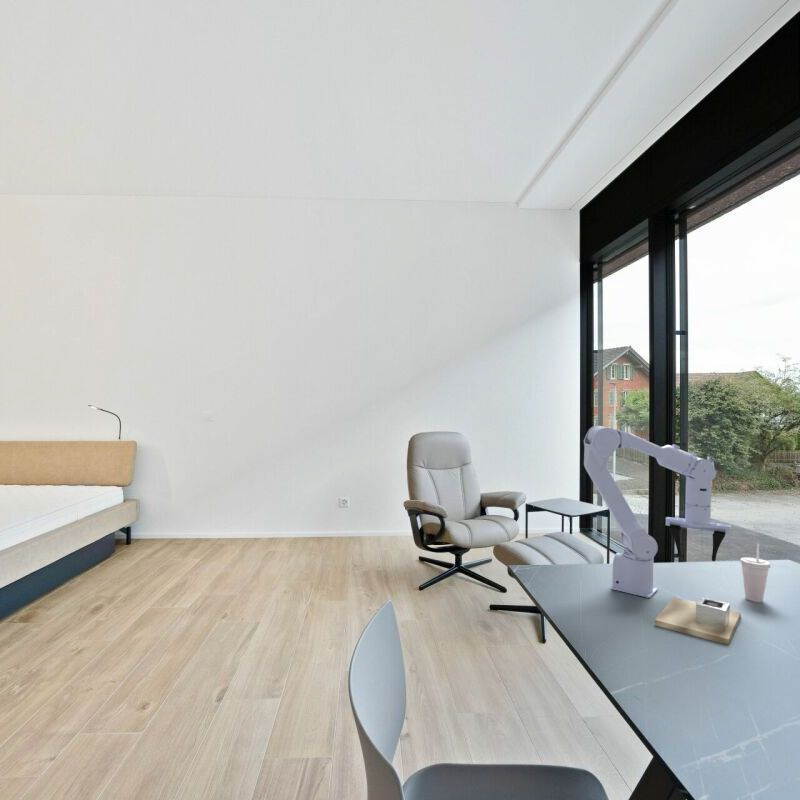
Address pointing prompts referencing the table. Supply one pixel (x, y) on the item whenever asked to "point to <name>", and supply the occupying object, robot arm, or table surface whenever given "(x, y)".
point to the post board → (694, 621)
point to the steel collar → (712, 613)
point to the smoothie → (754, 577)
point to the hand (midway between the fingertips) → (696, 557)
